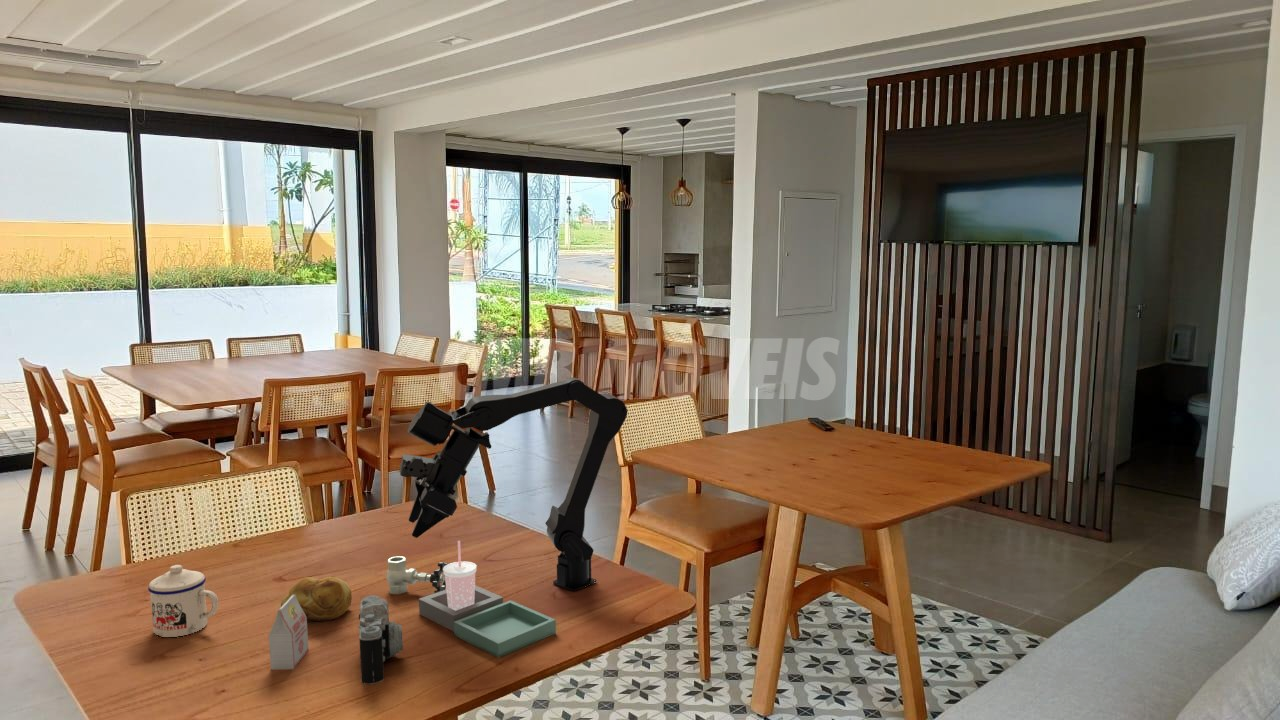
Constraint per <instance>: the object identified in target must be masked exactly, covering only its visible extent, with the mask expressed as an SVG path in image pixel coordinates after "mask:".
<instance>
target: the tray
mask: <svg viewBox="0 0 1280 720" xmlns="http://www.w3.org/2000/svg"><path fill="white" fill-rule="evenodd" d="M556 624H557V622H556V618H553V617H550V616H548V615H546V614H543V613H541V612H539V611H537V610H534V609H532V608H530V607H527V606H525V605H522V604H520V603H518V602H516V601H514V600H507V601H504V602H503V603H502V604H499V605H497V606H494V607H492V608H489V609H486V610H484V611H481V612H478V613H476V614H473V615H470V616H468V617H465V618H462V619H460V620H457V621H455V622H454V631H453V635H454V636H455V637H456V638H458V639H460V640H463V641H464V642H467V643H468V644H470V645H472V646H474V647H477V648H479V649H480V650H482V651H484V652H486V653H487V654H490V655H492V656H493V657H497V658H498V659H499V658H502V657H505V656H506V655H510V654H511V653H513V652H516V651H519V650H521V649H523V648H524V647H527V646H530V645H533V644H534V643H537V642H540V641H542V640H544V639H545V638H548V637H550V636H553V635H555V634H557V625H556Z"/></svg>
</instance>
